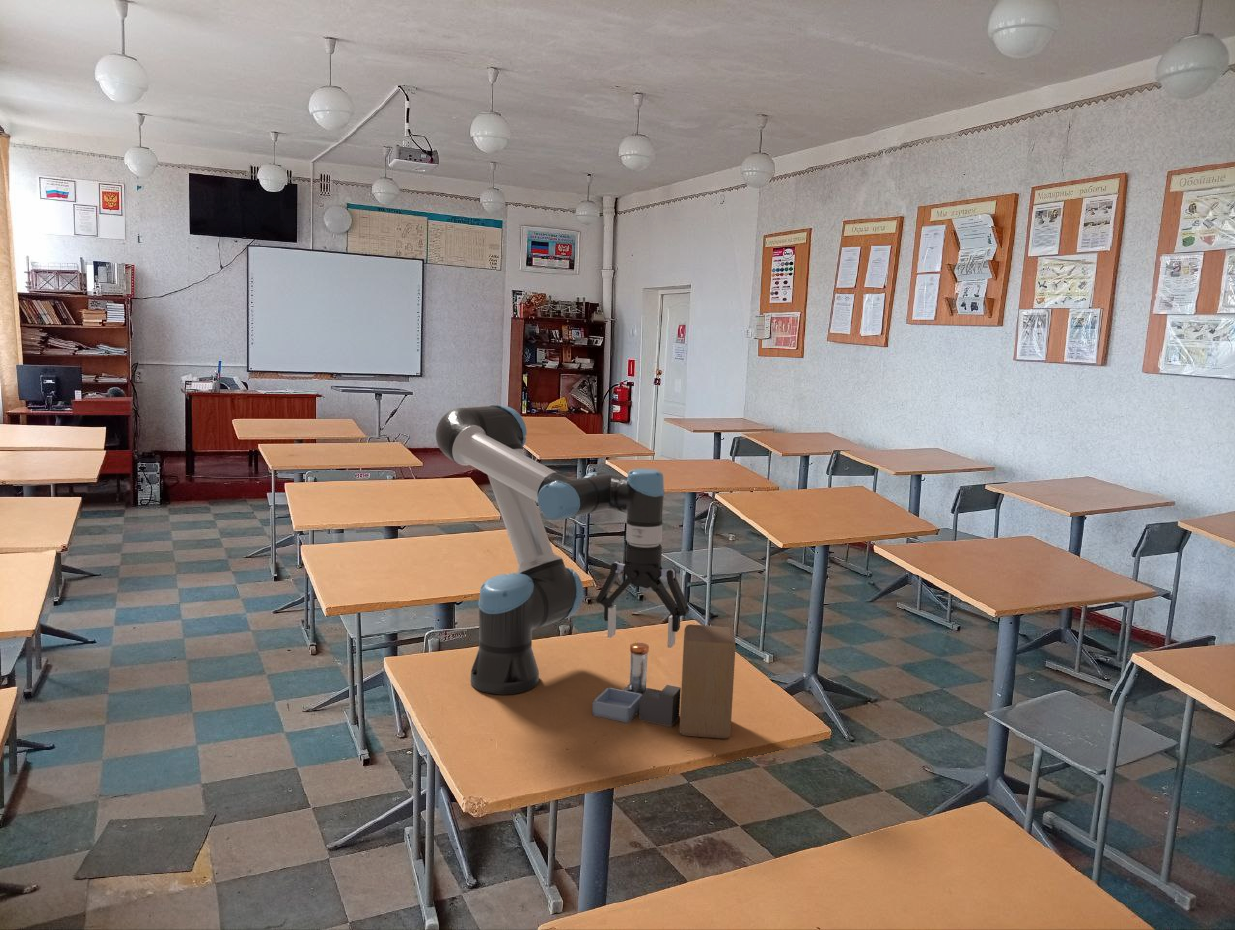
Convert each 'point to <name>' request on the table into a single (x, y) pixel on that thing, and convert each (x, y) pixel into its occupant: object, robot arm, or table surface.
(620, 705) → the tray
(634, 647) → the pin
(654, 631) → the table surface
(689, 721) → the block
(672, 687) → the dark grey stepped piece
